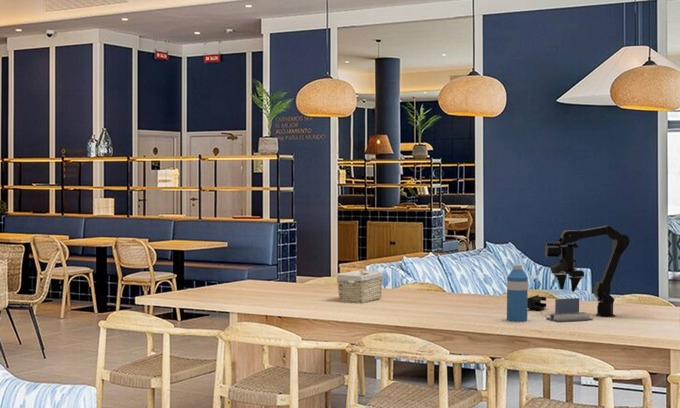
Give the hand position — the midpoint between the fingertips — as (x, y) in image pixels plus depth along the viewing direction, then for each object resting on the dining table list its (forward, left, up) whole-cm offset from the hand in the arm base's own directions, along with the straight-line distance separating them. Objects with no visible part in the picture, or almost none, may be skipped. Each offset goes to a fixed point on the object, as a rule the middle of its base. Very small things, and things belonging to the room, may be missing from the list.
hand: (567, 290), depth 439 cm
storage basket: (+71, -84, -12) cm, 110 cm away
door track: (+7, +12, -12) cm, 18 cm away
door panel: (0, 0, -12) cm, 12 cm away
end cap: (+3, -22, -12) cm, 25 cm away
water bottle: (+30, +5, -12) cm, 33 cm away
